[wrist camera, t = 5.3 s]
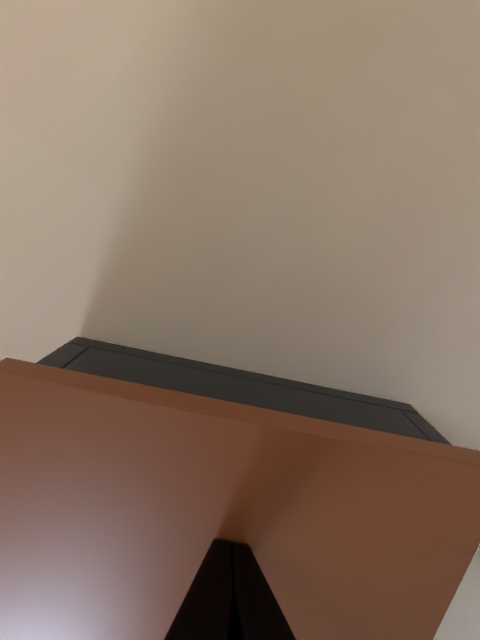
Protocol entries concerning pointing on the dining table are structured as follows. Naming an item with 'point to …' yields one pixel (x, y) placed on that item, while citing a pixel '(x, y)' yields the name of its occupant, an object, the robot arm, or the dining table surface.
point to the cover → (218, 511)
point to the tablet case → (241, 387)
